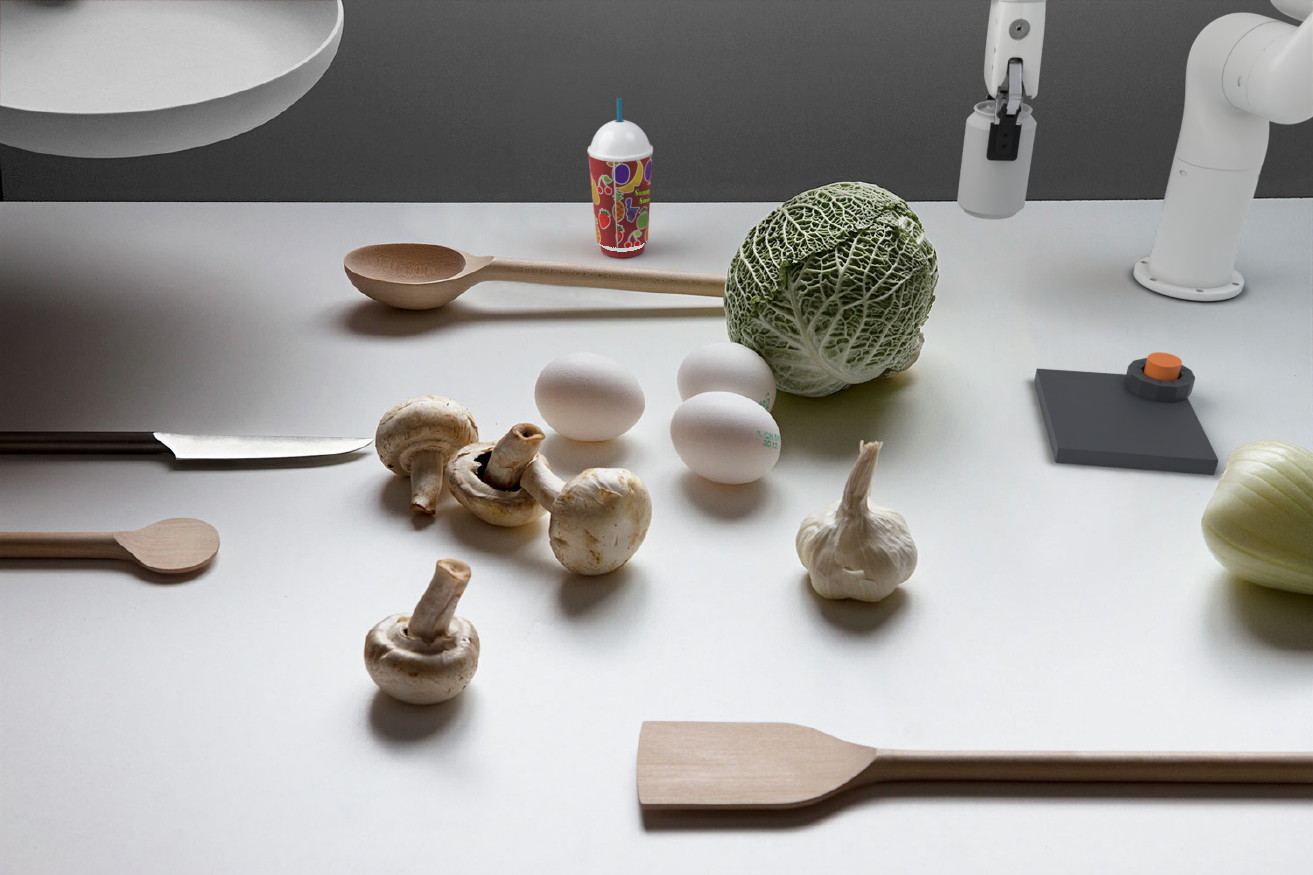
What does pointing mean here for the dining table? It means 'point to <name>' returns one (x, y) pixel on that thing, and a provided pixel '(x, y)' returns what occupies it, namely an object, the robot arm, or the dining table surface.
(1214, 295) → the robot arm
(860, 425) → the dining table surface
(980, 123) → the can
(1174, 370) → the tare button
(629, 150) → the smoothie
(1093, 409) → the grey flat slab
